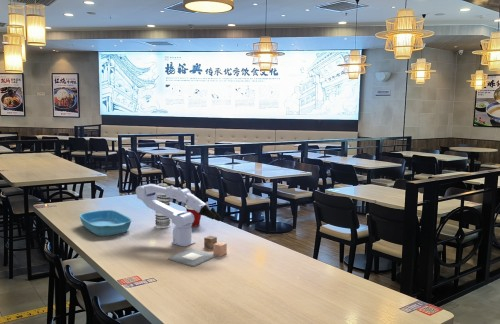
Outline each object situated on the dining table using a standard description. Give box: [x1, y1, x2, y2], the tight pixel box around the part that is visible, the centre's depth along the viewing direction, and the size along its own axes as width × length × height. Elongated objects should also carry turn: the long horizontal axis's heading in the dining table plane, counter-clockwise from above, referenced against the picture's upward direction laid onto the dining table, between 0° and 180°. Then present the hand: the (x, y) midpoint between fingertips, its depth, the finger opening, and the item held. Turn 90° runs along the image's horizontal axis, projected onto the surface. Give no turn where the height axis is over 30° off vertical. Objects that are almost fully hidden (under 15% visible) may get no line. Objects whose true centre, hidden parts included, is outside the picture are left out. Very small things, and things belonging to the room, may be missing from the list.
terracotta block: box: [212, 241, 228, 257], centre depth 204 cm, size 4×4×5 cm
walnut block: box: [203, 235, 218, 250], centre depth 214 cm, size 4×4×5 cm
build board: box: [167, 248, 217, 268], centre depth 198 cm, size 16×16×1 cm
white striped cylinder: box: [154, 182, 171, 229], centre depth 248 cm, size 9×9×25 cm
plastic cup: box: [184, 204, 202, 228], centre depth 251 cm, size 11×11×12 cm
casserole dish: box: [79, 209, 132, 237], centre depth 243 cm, size 37×22×7 cm, turn 40°
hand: (217, 218), depth 207 cm, fingers open, 7 cm apart
